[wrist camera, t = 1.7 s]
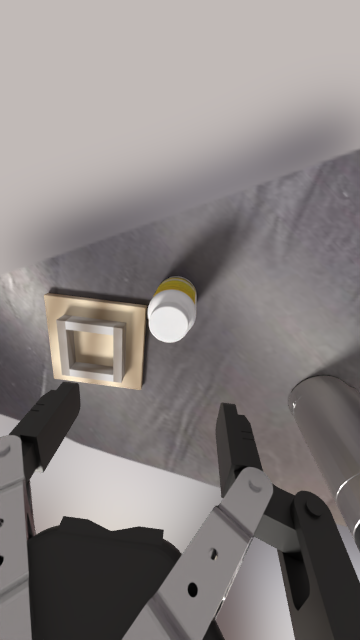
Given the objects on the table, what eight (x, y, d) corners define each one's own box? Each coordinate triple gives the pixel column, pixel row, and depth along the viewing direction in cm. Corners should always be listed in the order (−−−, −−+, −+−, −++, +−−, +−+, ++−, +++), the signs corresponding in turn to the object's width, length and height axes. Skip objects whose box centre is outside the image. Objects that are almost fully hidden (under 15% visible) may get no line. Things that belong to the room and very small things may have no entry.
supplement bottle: (153, 278, 32) (136, 301, 22) (194, 273, 31) (193, 295, 22) (160, 315, 34) (147, 351, 25) (198, 311, 33) (199, 346, 24)
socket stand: (146, 305, 33) (142, 313, 30) (142, 385, 39) (137, 398, 36) (48, 292, 33) (34, 299, 31) (57, 374, 39) (46, 386, 36)
